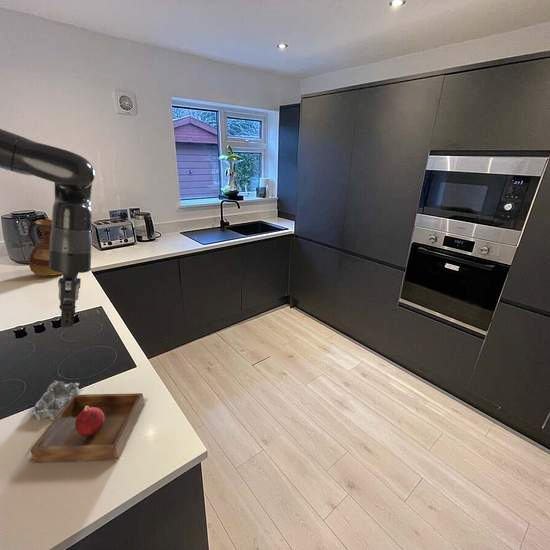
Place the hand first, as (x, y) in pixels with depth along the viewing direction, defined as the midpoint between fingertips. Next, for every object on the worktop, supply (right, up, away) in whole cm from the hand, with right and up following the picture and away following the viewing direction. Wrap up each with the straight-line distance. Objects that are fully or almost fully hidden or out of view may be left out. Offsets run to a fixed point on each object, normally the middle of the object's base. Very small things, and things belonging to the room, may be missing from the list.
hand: (68, 320), depth 65 cm
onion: (+3, -28, +4) cm, 28 cm away
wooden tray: (+3, -28, +5) cm, 28 cm away
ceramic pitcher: (-78, +11, +98) cm, 126 cm away
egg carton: (-11, -25, +12) cm, 29 cm away
